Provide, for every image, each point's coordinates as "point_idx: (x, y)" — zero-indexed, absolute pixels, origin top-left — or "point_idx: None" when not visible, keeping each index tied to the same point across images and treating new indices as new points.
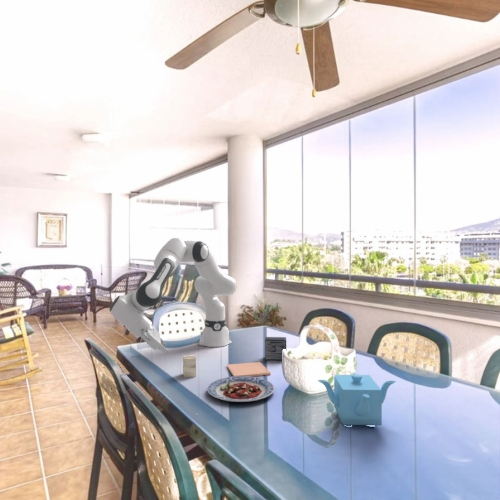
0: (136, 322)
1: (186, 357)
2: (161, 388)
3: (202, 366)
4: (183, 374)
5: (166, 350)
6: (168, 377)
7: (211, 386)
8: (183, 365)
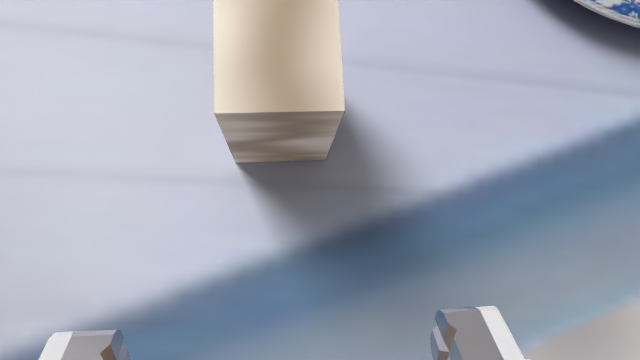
0: None
1: (291, 83)
2: (525, 331)
3: (90, 4)
4: (260, 161)
5: (500, 323)
6: (296, 280)
7: (625, 1)
8: (259, 140)
